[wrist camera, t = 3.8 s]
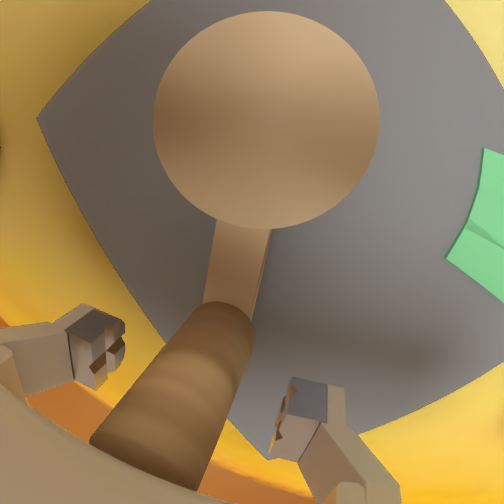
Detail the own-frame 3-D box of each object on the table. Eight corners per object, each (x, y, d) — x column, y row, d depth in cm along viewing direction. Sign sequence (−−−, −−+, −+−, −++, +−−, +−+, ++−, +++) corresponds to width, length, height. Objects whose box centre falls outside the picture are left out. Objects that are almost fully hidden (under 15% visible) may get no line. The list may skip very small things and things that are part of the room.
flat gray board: (55, 119, 13) (33, 118, 12) (349, -80, 8) (351, -99, 6) (271, 441, 16) (266, 462, 15) (557, 297, 11) (573, 309, 9)
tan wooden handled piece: (211, 38, 10) (73, -79, 2) (376, 67, 9) (464, -74, 1) (159, 368, 14) (68, 489, 7) (280, 406, 13) (242, 561, 6)
